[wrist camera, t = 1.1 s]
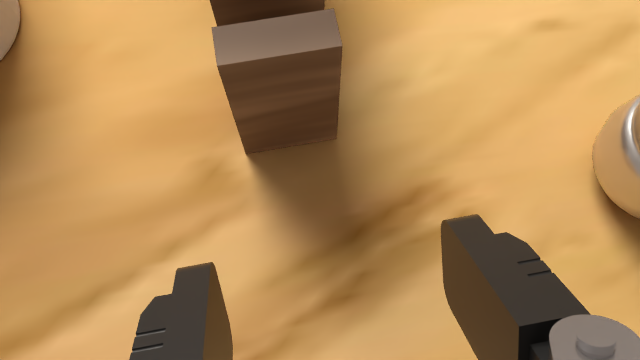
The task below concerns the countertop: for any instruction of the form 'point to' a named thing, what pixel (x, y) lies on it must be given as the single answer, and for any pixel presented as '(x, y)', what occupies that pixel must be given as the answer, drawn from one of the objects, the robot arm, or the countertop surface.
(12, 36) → the mug
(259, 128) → the domino
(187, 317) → the robot arm
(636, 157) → the plastic bottle
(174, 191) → the countertop surface
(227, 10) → the domino
